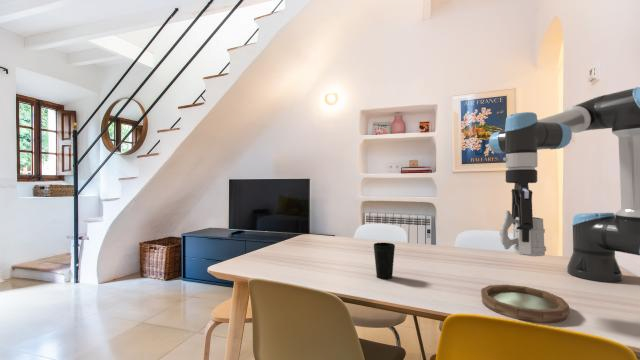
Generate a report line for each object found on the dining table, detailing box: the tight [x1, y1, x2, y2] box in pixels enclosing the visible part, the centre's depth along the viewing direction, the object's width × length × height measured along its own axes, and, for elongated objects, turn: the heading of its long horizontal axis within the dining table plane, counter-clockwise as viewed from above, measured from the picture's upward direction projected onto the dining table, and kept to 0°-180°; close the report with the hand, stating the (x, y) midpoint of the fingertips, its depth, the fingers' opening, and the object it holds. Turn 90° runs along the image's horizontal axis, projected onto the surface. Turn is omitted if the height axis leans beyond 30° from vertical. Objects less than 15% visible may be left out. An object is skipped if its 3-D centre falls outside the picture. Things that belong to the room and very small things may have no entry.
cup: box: [373, 242, 396, 280], centre depth 116 cm, size 8×8×12 cm
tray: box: [480, 284, 570, 324], centre depth 88 cm, size 20×20×3 cm
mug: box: [499, 210, 547, 257], centre depth 88 cm, size 8×12×12 cm, turn 90°
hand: (521, 250), depth 88 cm, fingers closed on mug, 7 cm apart
